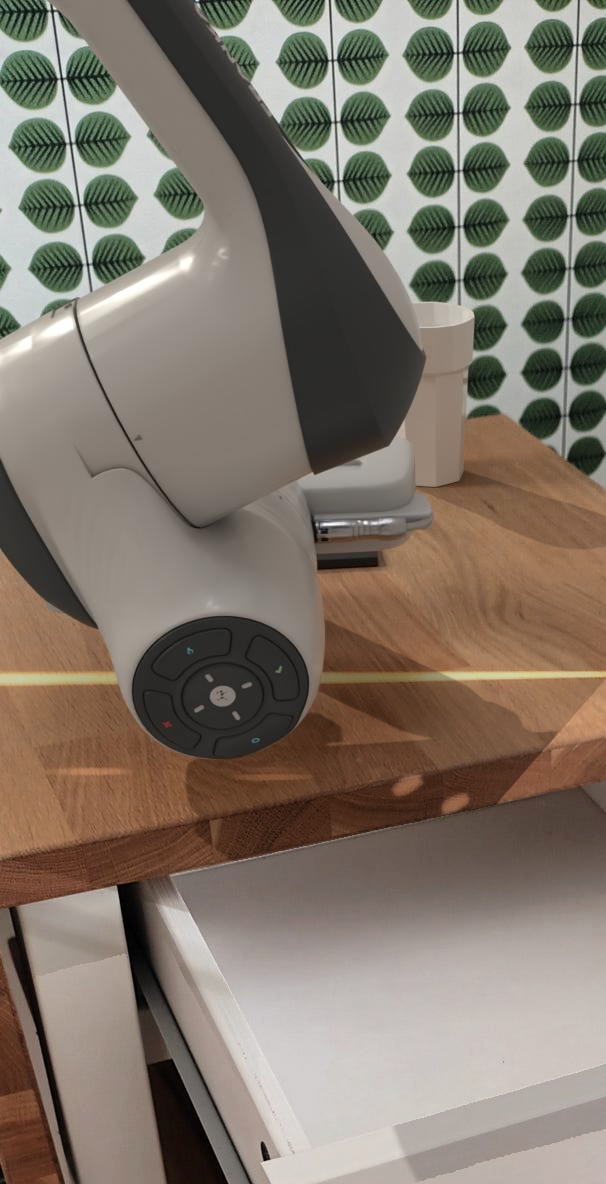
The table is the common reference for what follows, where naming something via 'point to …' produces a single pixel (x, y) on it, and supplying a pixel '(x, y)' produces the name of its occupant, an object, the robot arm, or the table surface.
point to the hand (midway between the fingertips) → (218, 442)
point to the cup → (440, 393)
